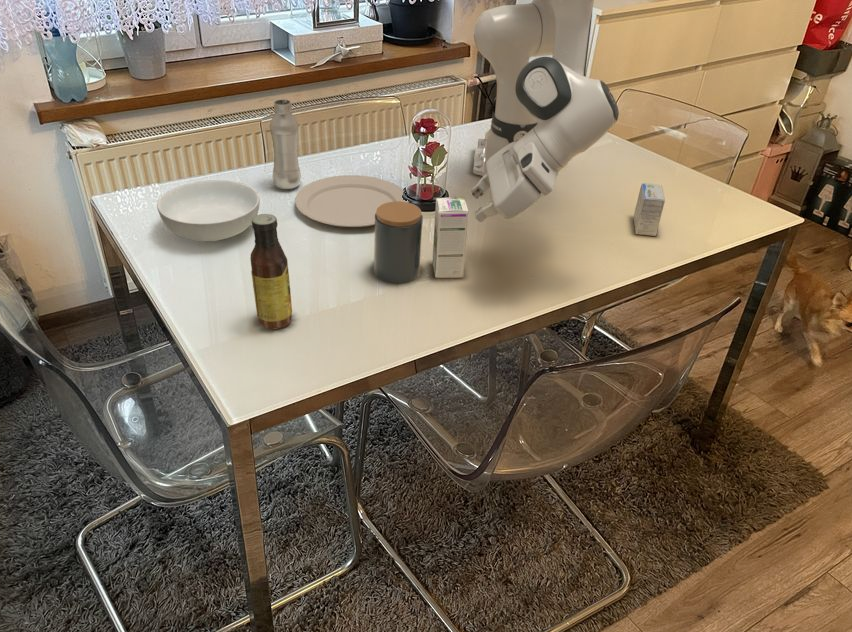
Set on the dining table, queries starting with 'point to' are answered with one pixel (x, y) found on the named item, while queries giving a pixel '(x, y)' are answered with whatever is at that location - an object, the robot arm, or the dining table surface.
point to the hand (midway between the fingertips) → (475, 206)
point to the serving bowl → (209, 209)
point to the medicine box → (648, 209)
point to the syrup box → (450, 237)
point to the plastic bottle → (285, 146)
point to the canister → (397, 242)
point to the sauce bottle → (270, 274)
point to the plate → (346, 199)
